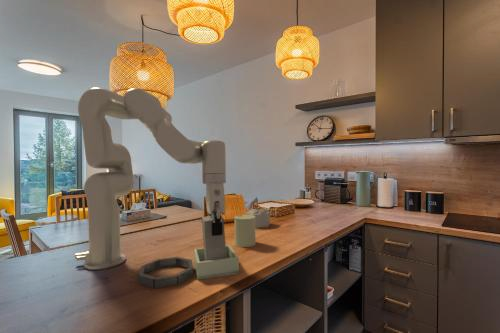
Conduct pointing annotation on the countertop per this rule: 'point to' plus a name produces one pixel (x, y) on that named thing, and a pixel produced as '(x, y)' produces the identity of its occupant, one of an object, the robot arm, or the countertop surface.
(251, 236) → the can
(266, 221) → the lumpy-topped squat cylinder
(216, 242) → the skincare box
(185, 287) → the countertop surface
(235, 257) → the bin
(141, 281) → the socket ring
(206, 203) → the robot arm
